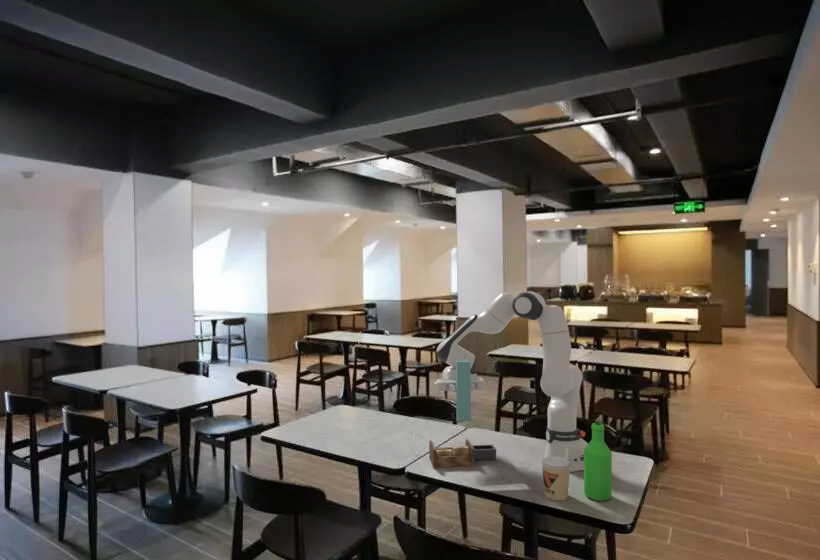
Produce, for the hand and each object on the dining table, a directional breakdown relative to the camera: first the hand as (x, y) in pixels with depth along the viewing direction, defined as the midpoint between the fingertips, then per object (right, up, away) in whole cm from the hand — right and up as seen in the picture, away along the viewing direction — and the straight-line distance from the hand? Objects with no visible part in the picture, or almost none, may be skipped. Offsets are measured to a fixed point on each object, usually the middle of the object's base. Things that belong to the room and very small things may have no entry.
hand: (463, 388), depth 196 cm
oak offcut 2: (-2, -29, -3) cm, 29 cm away
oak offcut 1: (-8, -29, -4) cm, 30 cm away
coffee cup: (+29, -31, -28) cm, 50 cm away
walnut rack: (-5, -30, -1) cm, 31 cm away
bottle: (+43, -31, -28) cm, 60 cm away
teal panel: (0, -13, +1) cm, 13 cm away
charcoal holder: (+8, -30, +2) cm, 31 cm away
